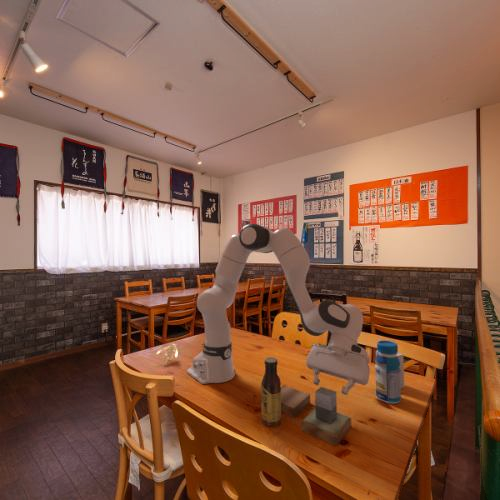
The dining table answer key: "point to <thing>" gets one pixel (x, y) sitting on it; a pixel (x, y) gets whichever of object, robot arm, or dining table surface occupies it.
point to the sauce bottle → (271, 394)
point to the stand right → (326, 427)
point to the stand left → (293, 401)
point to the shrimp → (171, 349)
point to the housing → (325, 405)
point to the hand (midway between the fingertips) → (329, 388)
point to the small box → (400, 357)
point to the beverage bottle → (388, 372)
